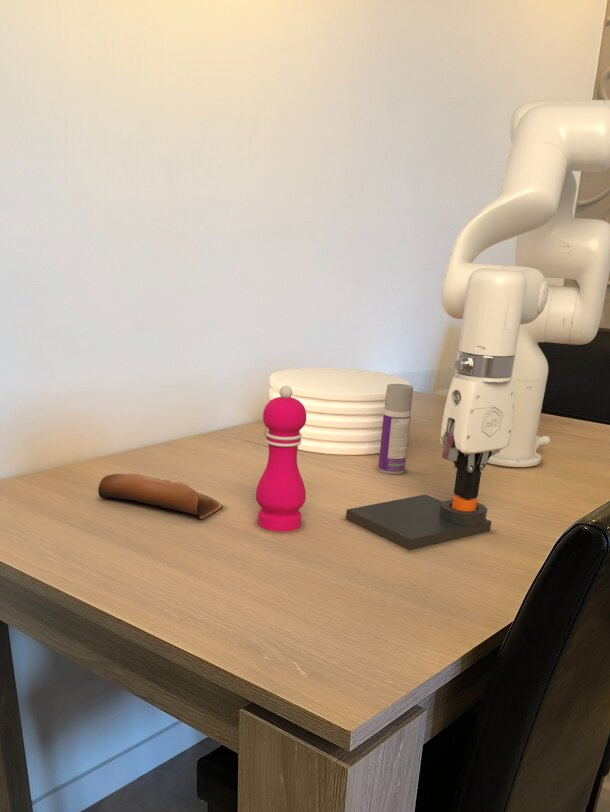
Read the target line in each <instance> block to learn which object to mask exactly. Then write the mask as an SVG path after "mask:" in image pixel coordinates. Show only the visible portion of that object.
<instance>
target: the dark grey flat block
mask: <svg viewBox="0 0 610 812" xmlns="http://www.w3.org/2000/svg"><path fill="white" fill-rule="evenodd" d="M451 505H452V499H448V500H444V501H443V500H440V499H438V498H435V497H432V496H431V495H428V494H420V495H415V496H410V497H405V498H400V499H399V498H398V499H394V500H388V501H384V502H378V503H374V504H368V505H367V504H366V505H363V506H358V507H352V508H347V509H346V513H345V521H347V522H349V523H352V524H353V525H356V526H358V527H360V528H362V529H364V530H366V531H369V532H370V533H372V534H374V535H376V536H377V537H381V538H383V539H384V540H387V541H389V542H390V543H392V544H395V545H397V546H399V547H401V548H403V549H405V550H407V551H413V550H418V549H421V548H426V547H432V546H434V545H439V544H442V543H447V542H451V541H455V540H460V539H464V538H468V537H473V536H477V535H482V534H485V533H490V532H491V527H492V520H490V519H487V514H488V508H487V507H486V506H485V504H482V503H480V502H477V508H476V511H460V510H456V509H454V508H451Z"/></svg>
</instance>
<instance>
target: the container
mask: <svg viewBox="0 0 610 812" xmlns="http://www.w3.org/2000/svg"><path fill="white" fill-rule="evenodd" d="M413 393H414V386H412V385H411V384H410V385H405V384H389V385H387V391H386V399H385V407H384V415H383V425H382V436H381V446H380V453H379V455H378V456H379V458H378V468H377V470H378V471H379V472H380V473H383V474H386V475H401V474H404V473H405V469H406V458H407V451H408V443H409V435H410V434H409V433H410V426H411V425H410V424H411V416H412V415H411V414H412V405H413Z"/></svg>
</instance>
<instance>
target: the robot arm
mask: <svg viewBox="0 0 610 812" xmlns="http://www.w3.org/2000/svg"><path fill="white" fill-rule="evenodd" d="M509 127H510V129H509V131H510V133H509V134H510V141H511V146H510V150H509V154H508V157H507V161H506V165H505V169H504V173H503V177H502V180H501V184H500V188H499V189H500V190H499V193H498V196H497V197H496V198H495V199H493V200H492V201H490V202H489V203H488V204H486V205H485V206H484V207H482V208H481V209H480V210H479V211H478V212H477V213H476V214H475V215H474V216H473V217H471V218H470V220H469V221H468V222H467V223H466V224H465V225H464V226H463V228H462V229H461V230H460V232H459V233H458V235H457V236H456V238H455V240H454V243H453V245H452V247H451V251H450V254H449V259H448V262H447V265H446V270H445V273H444V276H443V280H442V281H443V282H442V286H441V293H440V294H441V295H440V302H441V306H442V309H443V311H444V312H445V314H446V315H448V316H449V317H451V318H452V319H457V320H462V323H461V330H460V336H459V345H458V352H457V358H456V361H455V362H454V369H455V374H454V375H453V376H452V380H451V383H450V386H449V389H448V393H447V397H446V400H445V405H444V410H443V415H442V421H441V427H440V438H439V439H440V445H441V446H442V447H443V449H442V453H441V458H442V459H444V460H447V461H450V462H453V467H454V469H456V473H455V474H456V475H455V480H454V481H455V482H454V487H453V495H458V496H460V497H463V498H466V499H472V498H479V497H478V496H479V491H480V483H481V477H482V471H483V472H484V471H485V469H486V466H487V464H490V465H494V466H499V467H500V466H501V467H509V468H531V467H535V466H538V465H539V464H541V461H542V456H541V454H540V453H538V452H537V450H538V449H539V447H540V448H541V447H547V446H548V445H549V444H550V443H551V439H550V437H549V436H548V435H543V436H539V435H538V432H539V431H538V430H539V425H540V420H541V416H542V415H541V414H542V409H543V403H544V397H545V392H546V386H547V380H548V375H549V363H548V359H547V358H546V356H545V354H544V352H543V351H542V349H541V348H540V346H539V344H538V343H553V344H561V345H576V346H581V345H586V344H589V343H591V342H592V341H593V340H594V339H595V338H596V336H597V333H598V331H599V329H600V325H601V320H602V316H603V310H604V305H605V299H606V293H607V289H608V283H609V277H610V223H609V222H608V221H606V220H603V219H600V218H599V219H598V218H583V217H581V218H579V217H575V216H574V206H575V199H576V194H577V185H578V184H577V180H576V177H575V175H574V173H573V172H593V173H595V172H596V173H597V172H599V173H600V172H606V171H608V170H609V169H610V99H540V100H532V101H528V102H525V103H522V104H521V105H518V107H517V108H516V109H515V110H514V111H513V113H512V116H511V119H510V126H509ZM515 237H516V240H515V241H516V242H515V251H514V264H515V265H506V264H494V263H493V264H492V263H481V262H480V263H479V262H477V263H476V262H474V261H475V260H476V259H477V257H478V256H479V255H481V253H482V252H484V251H486V250H487V249H488V248H491V247H492V246H494V245H497V244H499V243H501V242H504V241H508V240H510V239H512V238H515ZM546 278H548V279H562V280H563V279H565V280H574V281H576V282H577V283H578V285H579V287H578V286H565V285H556V284H549V283H548V281H547V279H546Z"/></svg>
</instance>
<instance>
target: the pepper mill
mask: <svg viewBox="0 0 610 812" xmlns="http://www.w3.org/2000/svg"><path fill="white" fill-rule="evenodd" d="M279 393H280V396H281V397H277V398H274V399H272V400H271V399H270V400H271V401H270V400H269V401H268V402H267V403H266V405H265V406H264V408H263V413H262V421H263V423H264V426H265V427H266V428H267V431H266V432H265V436H266V438H265V442H266V444H267V445H268V457H267V462H266V466H265V468H264V471H263V473H262V475H261V477H260V479H259V481H258V483H257V486H256V490H255V500H256V503H257V505H258V506H259V508H261V509H259V511H258V515H257V524H258V526H259V527H260V528H262V529H265V530H268V531H272V532H291V531H295V530H298V529H299V528H300V527H301V525H302V513H301V511H299V510H300V509H301V508H302V507H304V504H305V503H306V500H307V495H306V492H307V491H306V487H305V483H304V480H303V478H302V475H301V473H300V469H299V466H298V445H300V444H301V437H302V434H301V433H300V432H299V431H300V430H301V429H302V428H303V426H304V425H305V423H306V410H305V408H304V406H303V404H302V403H301V402H300V401H298V400H297V399H295V398H292V397H291V396H292V389H291V388H290V387H289V386H283V387H281V389H280V391H279ZM268 430H269V431H268Z"/></svg>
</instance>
